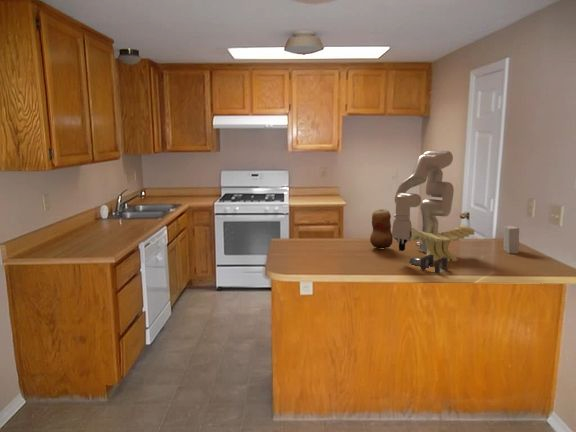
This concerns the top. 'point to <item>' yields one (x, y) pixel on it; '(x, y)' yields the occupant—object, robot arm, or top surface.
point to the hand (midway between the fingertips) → (401, 250)
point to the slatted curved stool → (441, 241)
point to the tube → (418, 262)
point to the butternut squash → (381, 229)
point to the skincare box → (511, 239)
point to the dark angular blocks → (437, 264)
